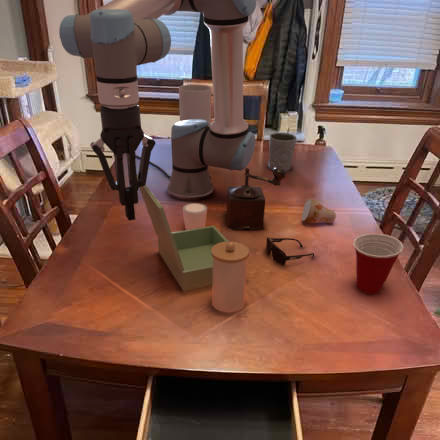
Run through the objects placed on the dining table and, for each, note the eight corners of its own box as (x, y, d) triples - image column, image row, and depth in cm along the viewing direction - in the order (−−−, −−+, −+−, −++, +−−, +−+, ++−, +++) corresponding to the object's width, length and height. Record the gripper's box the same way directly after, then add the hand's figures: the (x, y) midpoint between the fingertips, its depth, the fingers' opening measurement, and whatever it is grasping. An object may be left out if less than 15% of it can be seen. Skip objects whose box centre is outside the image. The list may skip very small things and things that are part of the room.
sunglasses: (259, 250, 123) (262, 233, 121) (296, 248, 128) (300, 231, 125) (278, 270, 115) (282, 252, 113) (317, 266, 120) (322, 249, 118)
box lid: (137, 174, 107) (134, 175, 107) (162, 206, 92) (159, 208, 92) (158, 232, 117) (156, 233, 117) (184, 270, 102) (181, 271, 102)
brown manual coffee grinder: (228, 231, 133) (230, 170, 122) (225, 214, 142) (227, 156, 131) (281, 230, 134) (288, 170, 123) (275, 214, 143) (281, 157, 132)
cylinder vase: (177, 156, 187) (175, 90, 172) (184, 147, 197) (183, 83, 183) (207, 158, 185) (208, 92, 171) (213, 149, 195) (214, 85, 181)
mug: (339, 228, 136) (329, 203, 130) (308, 238, 140) (296, 214, 134) (337, 212, 141) (327, 187, 135) (306, 222, 145) (295, 198, 138)
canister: (203, 304, 103) (203, 241, 94) (227, 291, 107) (229, 229, 98) (228, 320, 98) (231, 255, 89) (252, 305, 103) (257, 242, 94)
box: (213, 244, 126) (214, 225, 123) (244, 280, 111) (246, 260, 108) (158, 254, 121) (157, 234, 117) (183, 294, 106) (183, 272, 103)
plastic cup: (338, 275, 114) (347, 232, 107) (381, 274, 115) (392, 231, 108) (352, 301, 105) (363, 255, 98) (398, 299, 106) (411, 254, 99)
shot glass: (189, 237, 129) (188, 214, 125) (179, 227, 134) (178, 205, 130) (211, 232, 132) (211, 210, 128) (200, 223, 137) (200, 201, 133)
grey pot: (275, 161, 184) (278, 131, 177) (297, 167, 179) (301, 135, 172) (261, 168, 177) (264, 136, 170) (285, 174, 172) (288, 142, 165)
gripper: (88, 111, 83) (104, 229, 96) (158, 106, 87) (164, 220, 101) (81, 102, 89) (97, 215, 102) (147, 98, 93) (154, 206, 106)
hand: (130, 217), depth 101 cm, fingers closed
